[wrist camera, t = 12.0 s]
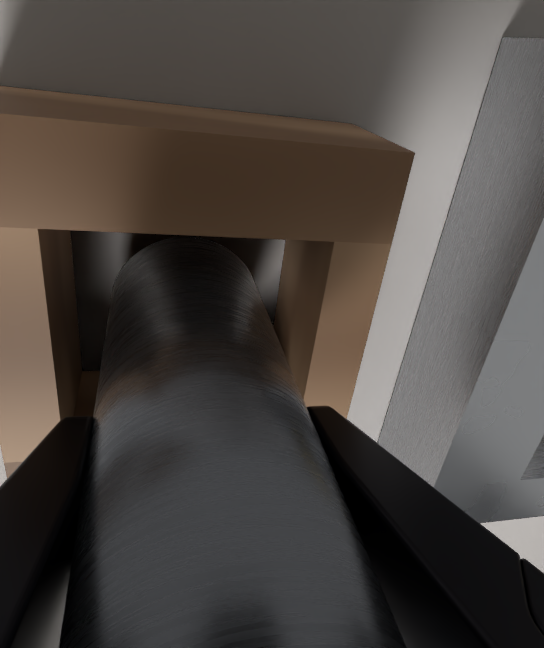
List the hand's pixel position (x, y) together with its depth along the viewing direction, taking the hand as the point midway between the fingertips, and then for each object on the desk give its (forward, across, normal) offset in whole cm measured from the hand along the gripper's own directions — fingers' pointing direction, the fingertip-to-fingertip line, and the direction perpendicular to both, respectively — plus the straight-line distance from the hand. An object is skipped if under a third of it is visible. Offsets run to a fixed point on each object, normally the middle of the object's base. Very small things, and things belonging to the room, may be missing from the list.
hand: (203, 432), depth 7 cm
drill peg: (+4, 0, 0) cm, 4 cm away
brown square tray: (+5, 0, 0) cm, 5 cm away
